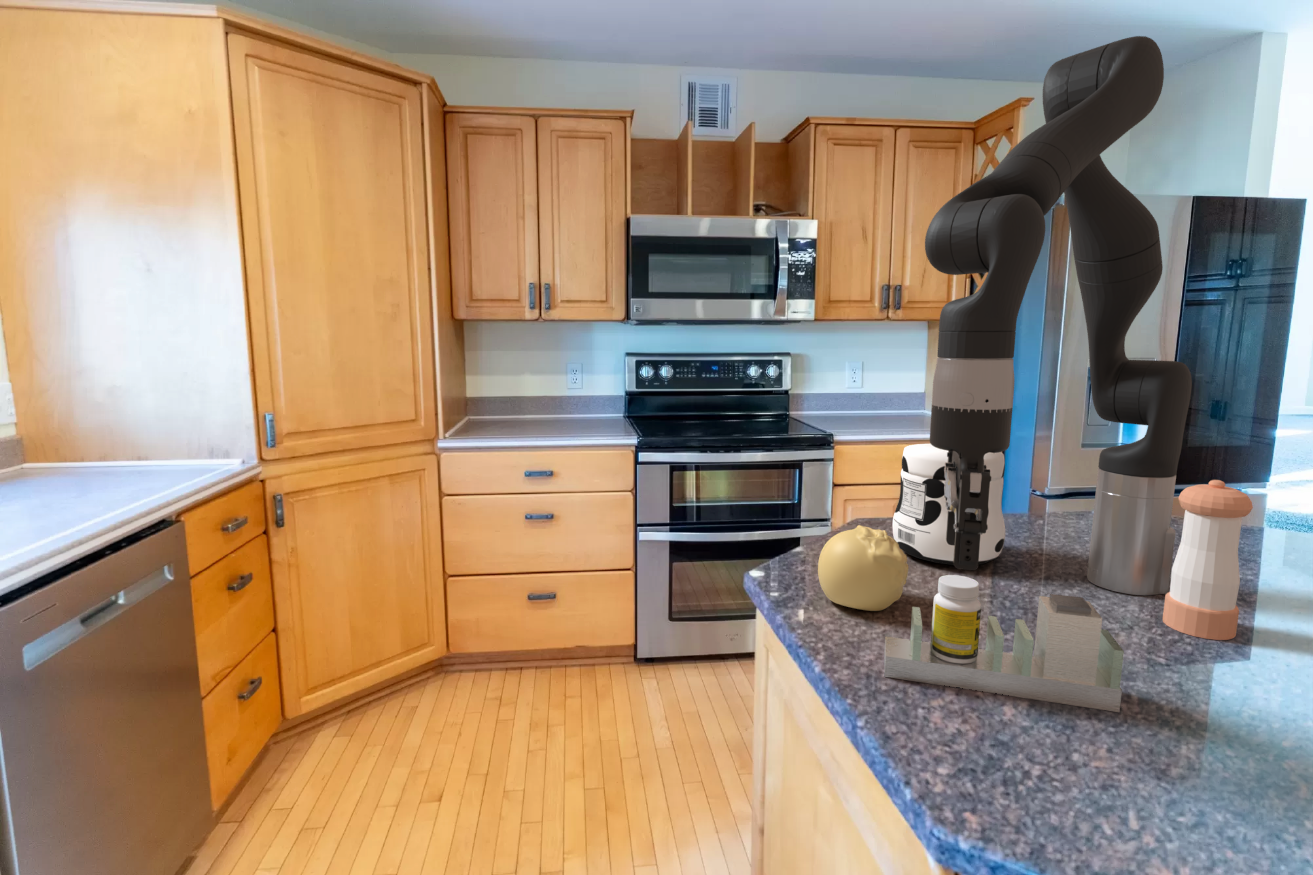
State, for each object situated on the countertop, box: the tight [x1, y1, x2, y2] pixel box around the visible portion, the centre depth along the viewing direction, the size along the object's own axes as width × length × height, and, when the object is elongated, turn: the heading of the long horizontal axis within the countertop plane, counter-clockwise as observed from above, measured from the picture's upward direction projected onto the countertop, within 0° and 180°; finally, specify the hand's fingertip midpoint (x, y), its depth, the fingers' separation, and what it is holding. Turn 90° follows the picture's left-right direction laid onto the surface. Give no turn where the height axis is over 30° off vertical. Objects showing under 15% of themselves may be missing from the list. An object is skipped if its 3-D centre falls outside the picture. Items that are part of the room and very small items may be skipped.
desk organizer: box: [883, 593, 1125, 713], centre depth 70 cm, size 22×5×10 cm, turn 72°
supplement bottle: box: [930, 574, 982, 664], centre depth 72 cm, size 5×5×8 cm
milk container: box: [892, 443, 1006, 566], centre depth 110 cm, size 17×17×18 cm
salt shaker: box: [1162, 479, 1254, 641], centre depth 83 cm, size 7×7×19 cm
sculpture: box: [817, 524, 909, 612], centre depth 92 cm, size 12×12×11 cm
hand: (960, 555), depth 70 cm, fingers open, 7 cm apart
